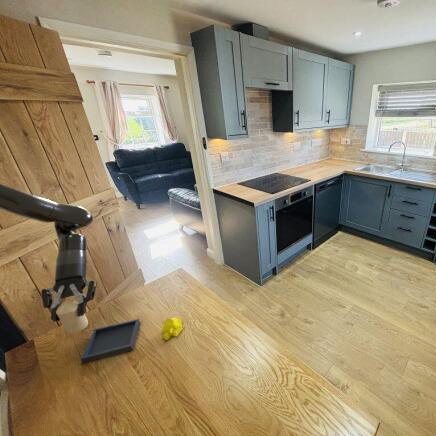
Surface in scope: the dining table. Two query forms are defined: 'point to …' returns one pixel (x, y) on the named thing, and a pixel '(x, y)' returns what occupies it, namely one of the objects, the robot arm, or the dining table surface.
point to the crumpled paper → (171, 328)
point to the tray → (111, 341)
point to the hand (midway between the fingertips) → (68, 318)
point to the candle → (71, 317)
